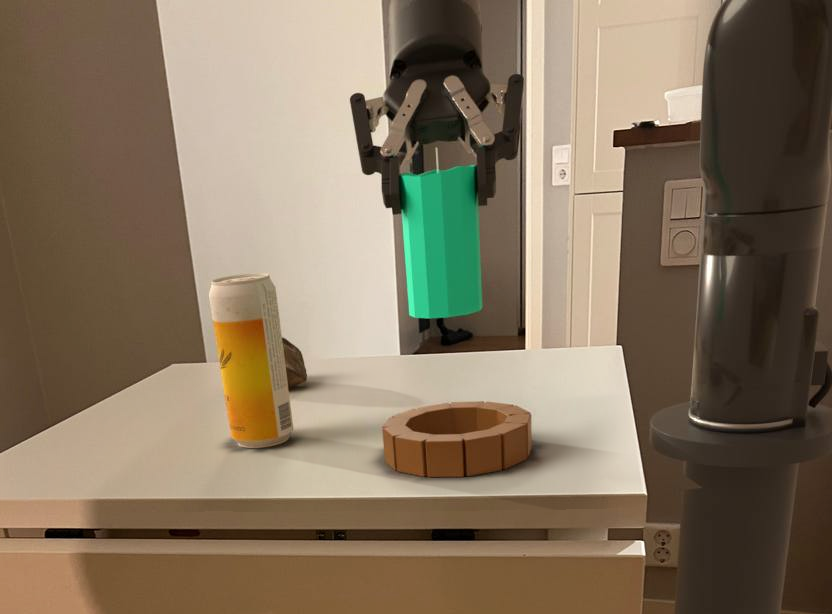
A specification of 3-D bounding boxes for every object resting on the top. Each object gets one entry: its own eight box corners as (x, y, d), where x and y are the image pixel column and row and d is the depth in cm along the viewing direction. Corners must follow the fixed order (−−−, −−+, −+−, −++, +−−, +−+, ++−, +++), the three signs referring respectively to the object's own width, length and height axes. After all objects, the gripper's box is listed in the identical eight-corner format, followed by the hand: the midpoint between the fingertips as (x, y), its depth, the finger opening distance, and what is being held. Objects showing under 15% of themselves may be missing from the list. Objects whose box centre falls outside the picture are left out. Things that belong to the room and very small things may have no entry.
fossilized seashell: (220, 365, 116) (245, 393, 108) (243, 314, 114) (269, 339, 106) (272, 387, 120) (300, 416, 113) (295, 338, 118) (325, 364, 110)
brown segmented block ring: (536, 432, 86) (536, 399, 85) (522, 476, 76) (521, 439, 74) (403, 435, 90) (400, 403, 88) (371, 478, 79) (368, 442, 78)
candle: (497, 308, 77) (492, 141, 71) (435, 321, 75) (425, 149, 69) (455, 302, 82) (446, 145, 76) (395, 314, 79) (382, 153, 74)
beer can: (249, 431, 96) (226, 274, 90) (304, 432, 94) (284, 271, 87) (221, 449, 91) (194, 284, 85) (278, 450, 89) (255, 281, 82)
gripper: (340, 3, 75) (338, 176, 70) (525, -22, 73) (536, 154, 68) (354, 83, 82) (353, 245, 77) (523, 63, 80) (533, 228, 75)
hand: (439, 202), depth 73 cm, fingers closed on candle, 6 cm apart
